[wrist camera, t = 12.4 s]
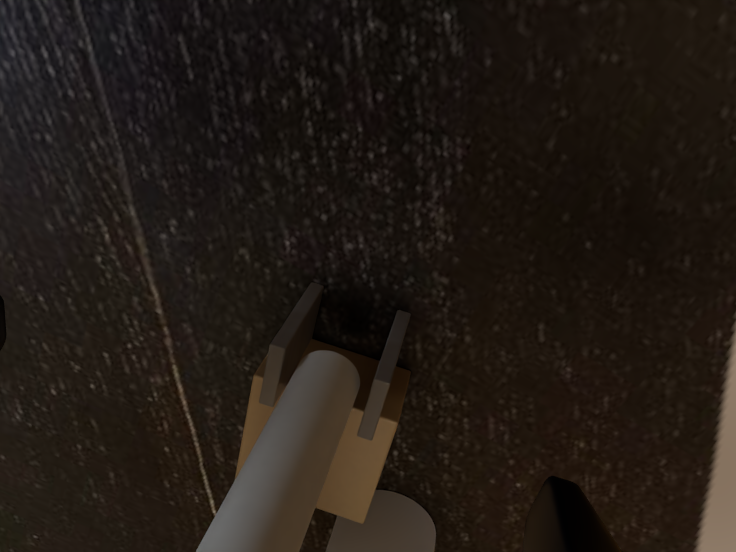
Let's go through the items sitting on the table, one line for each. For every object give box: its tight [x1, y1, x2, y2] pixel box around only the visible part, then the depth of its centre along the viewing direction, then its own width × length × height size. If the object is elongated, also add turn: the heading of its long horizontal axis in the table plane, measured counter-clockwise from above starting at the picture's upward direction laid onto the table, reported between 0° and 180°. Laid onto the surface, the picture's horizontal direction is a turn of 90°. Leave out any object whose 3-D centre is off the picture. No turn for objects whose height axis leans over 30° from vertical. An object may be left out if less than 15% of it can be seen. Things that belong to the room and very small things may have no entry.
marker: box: [196, 350, 360, 552], centre depth 14 cm, size 2×10×2 cm
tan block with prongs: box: [235, 282, 411, 524], centre depth 21 cm, size 5×7×4 cm
